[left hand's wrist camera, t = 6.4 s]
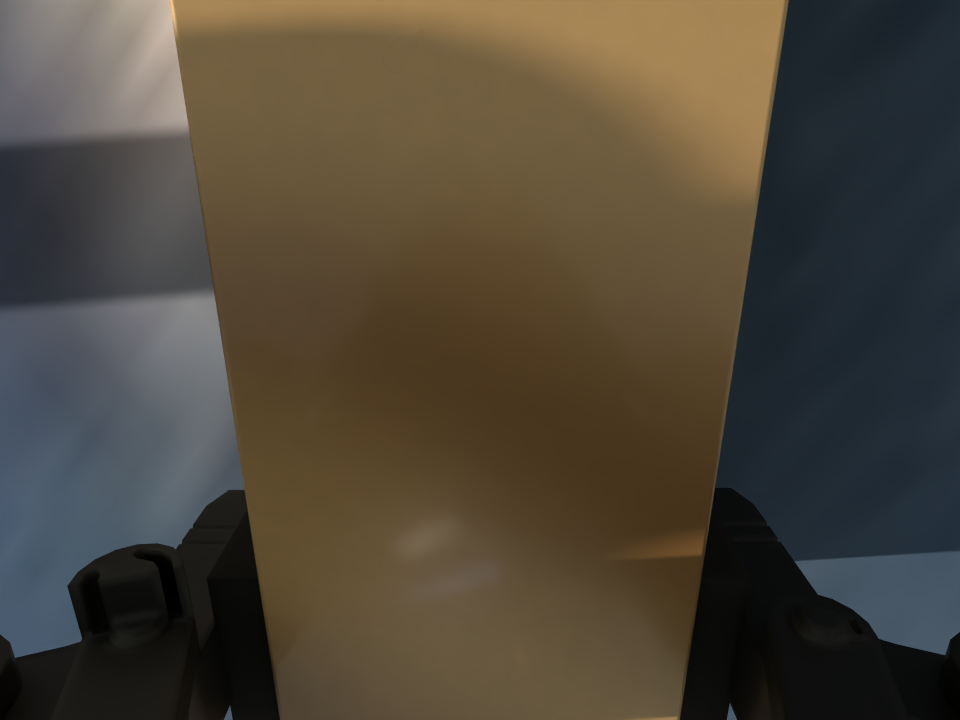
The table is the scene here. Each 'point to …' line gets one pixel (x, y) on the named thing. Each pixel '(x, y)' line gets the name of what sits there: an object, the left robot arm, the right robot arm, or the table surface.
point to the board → (479, 334)
